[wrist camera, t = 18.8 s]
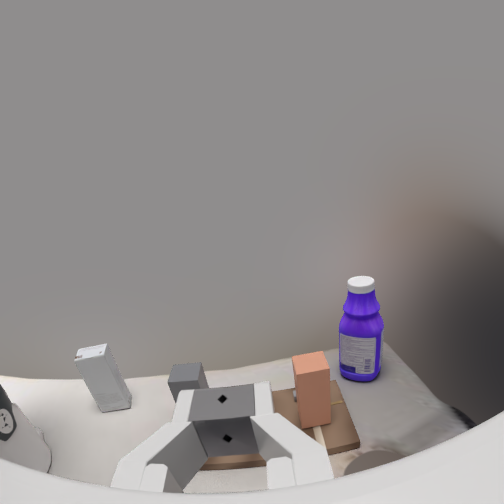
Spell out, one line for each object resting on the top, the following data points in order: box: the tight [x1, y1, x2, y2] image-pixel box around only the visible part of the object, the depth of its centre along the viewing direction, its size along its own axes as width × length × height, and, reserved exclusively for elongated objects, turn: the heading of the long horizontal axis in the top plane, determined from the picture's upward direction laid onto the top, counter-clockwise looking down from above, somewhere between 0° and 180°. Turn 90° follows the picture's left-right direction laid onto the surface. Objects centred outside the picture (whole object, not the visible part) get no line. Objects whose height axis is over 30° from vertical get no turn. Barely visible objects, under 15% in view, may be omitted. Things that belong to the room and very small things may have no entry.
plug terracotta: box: [292, 351, 331, 429], centre depth 38 cm, size 4×4×10 cm
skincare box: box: [74, 344, 131, 412], centre depth 47 cm, size 6×4×12 cm
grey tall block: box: [168, 362, 209, 403], centre depth 39 cm, size 4×4×10 cm
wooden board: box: [199, 380, 360, 470], centre depth 40 cm, size 26×14×3 cm, turn 92°
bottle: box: [339, 276, 384, 381], centre depth 46 cm, size 7×6×17 cm
